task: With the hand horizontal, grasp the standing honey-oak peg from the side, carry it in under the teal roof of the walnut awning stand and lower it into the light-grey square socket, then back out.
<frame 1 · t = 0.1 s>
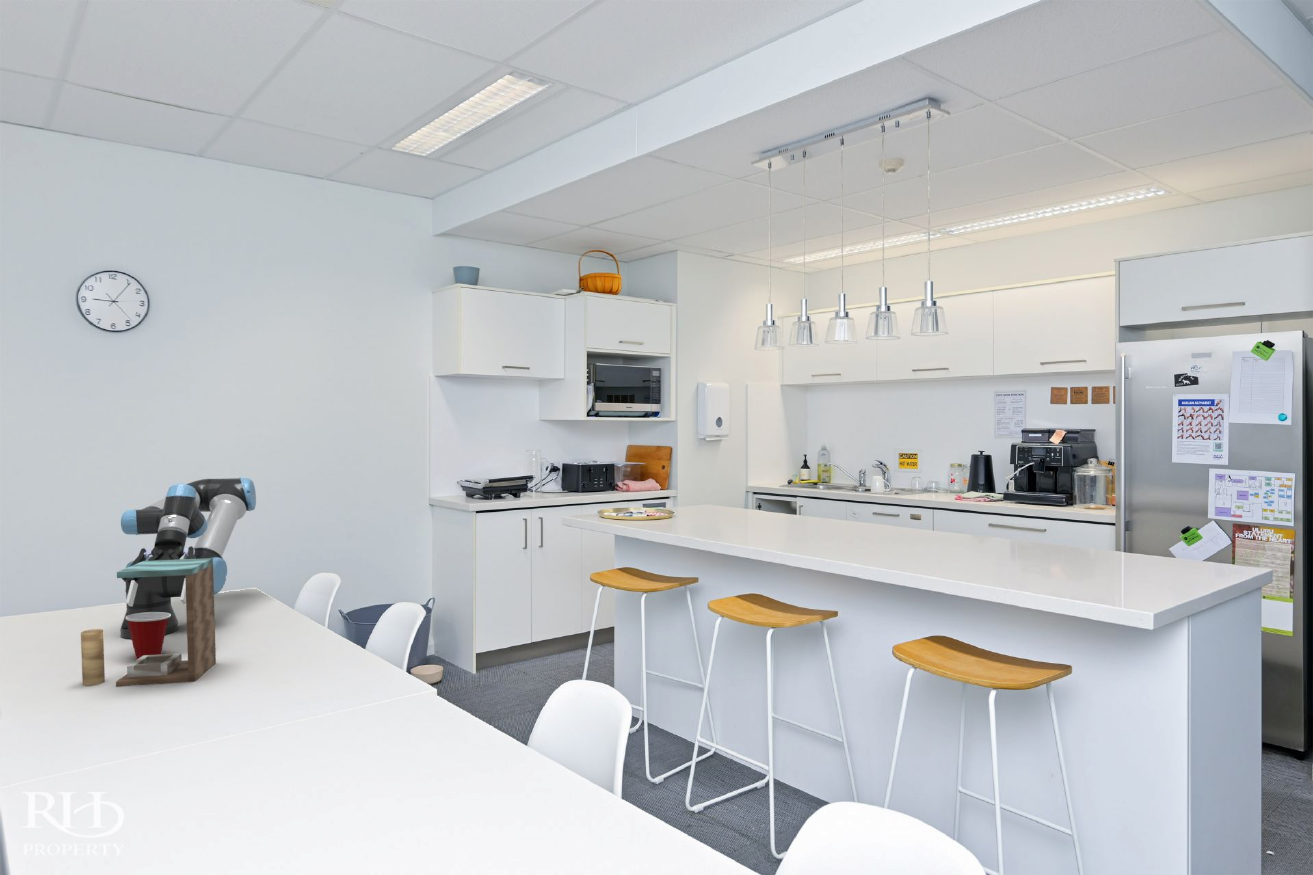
hand: (156, 603, 223), 15 cm above the table, tool tilted 35°, fingers open, 13 cm apart
plastic cup: (149, 657, 224), on the table
peg: (93, 682, 203), on the table
awning stand: (168, 674, 209), on the table
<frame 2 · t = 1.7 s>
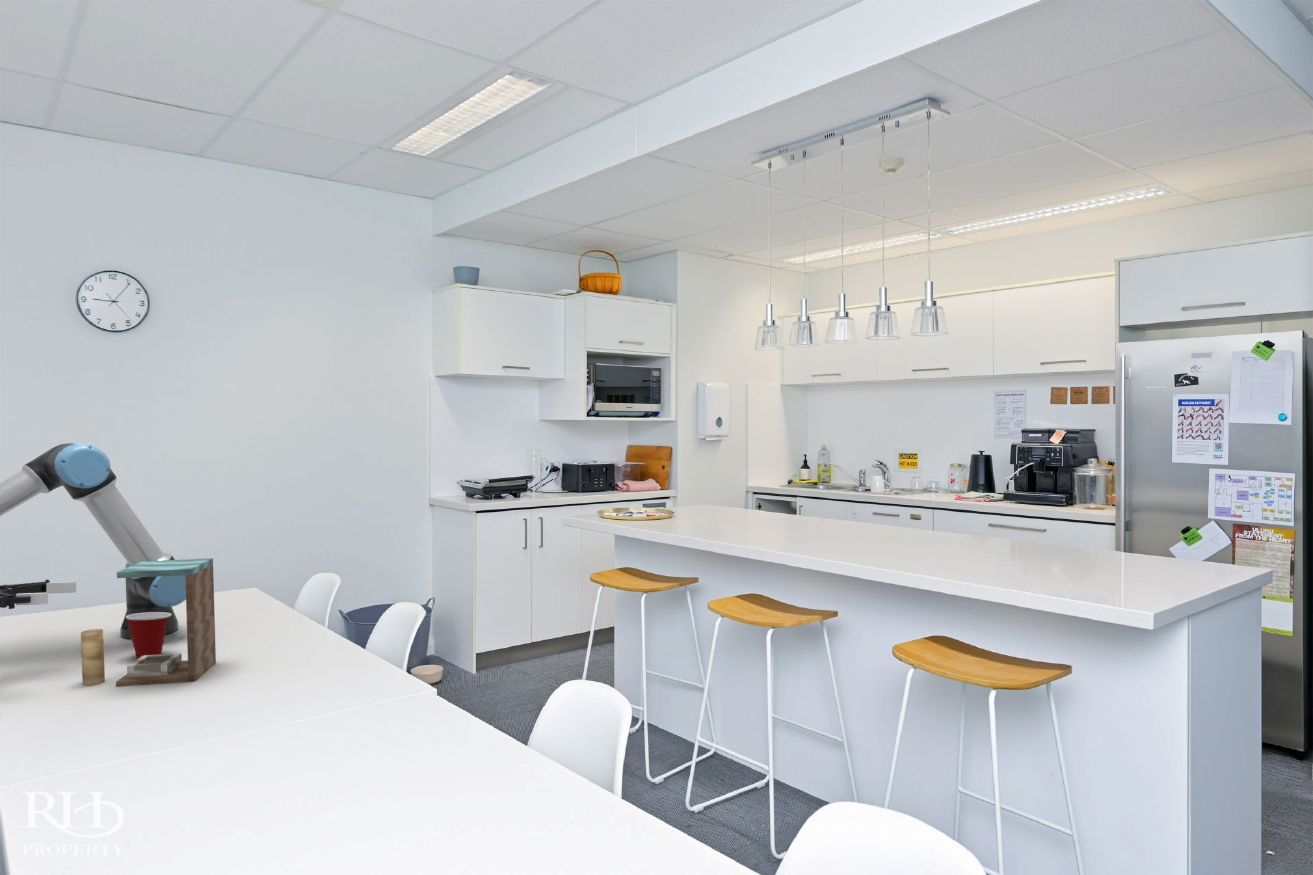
hand: (61, 592, 204), 23 cm above the table, tool horizontal, fingers open, 13 cm apart
nothing on the table moved.
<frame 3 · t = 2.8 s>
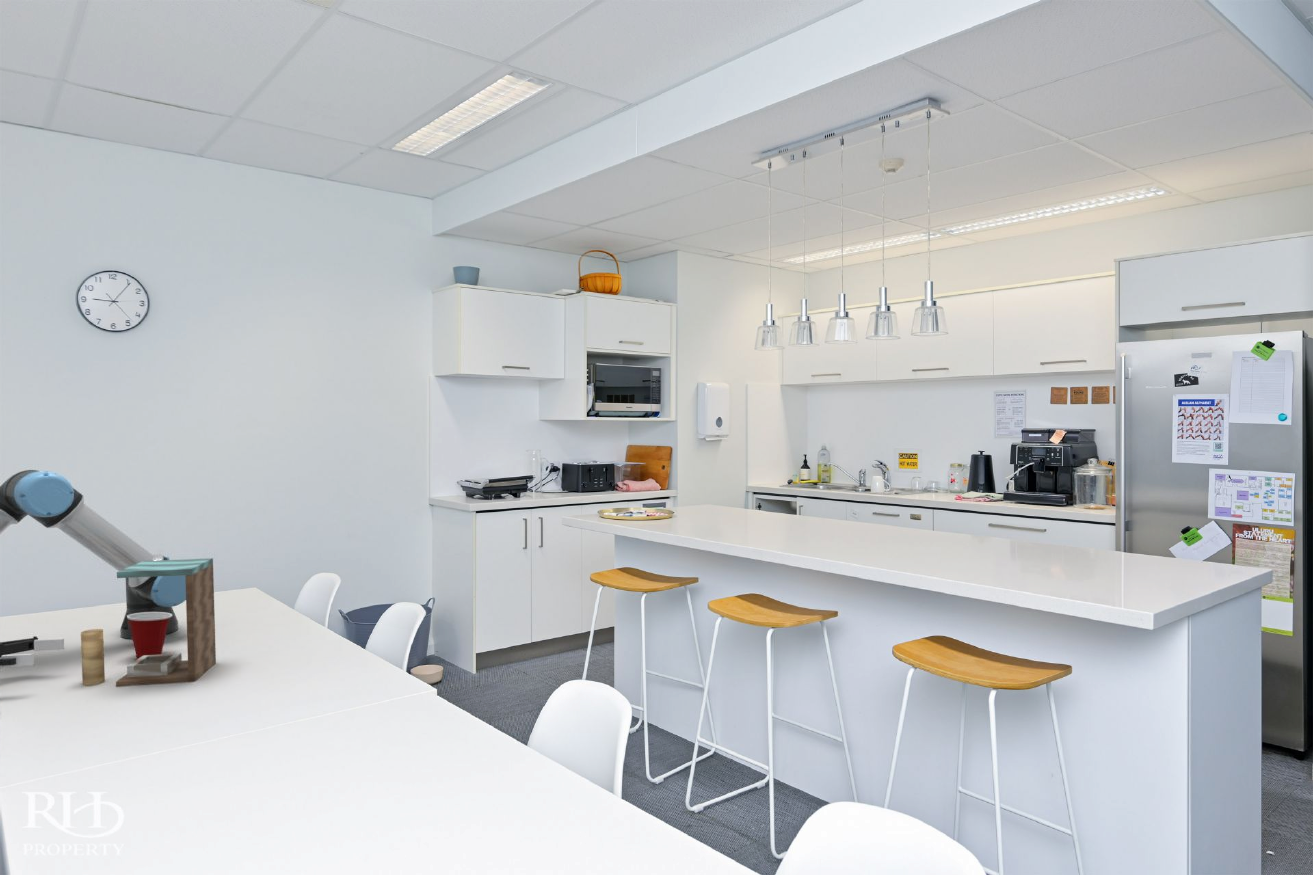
hand: (48, 651, 201), 8 cm above the table, tool horizontal, fingers open, 13 cm apart
nothing on the table moved.
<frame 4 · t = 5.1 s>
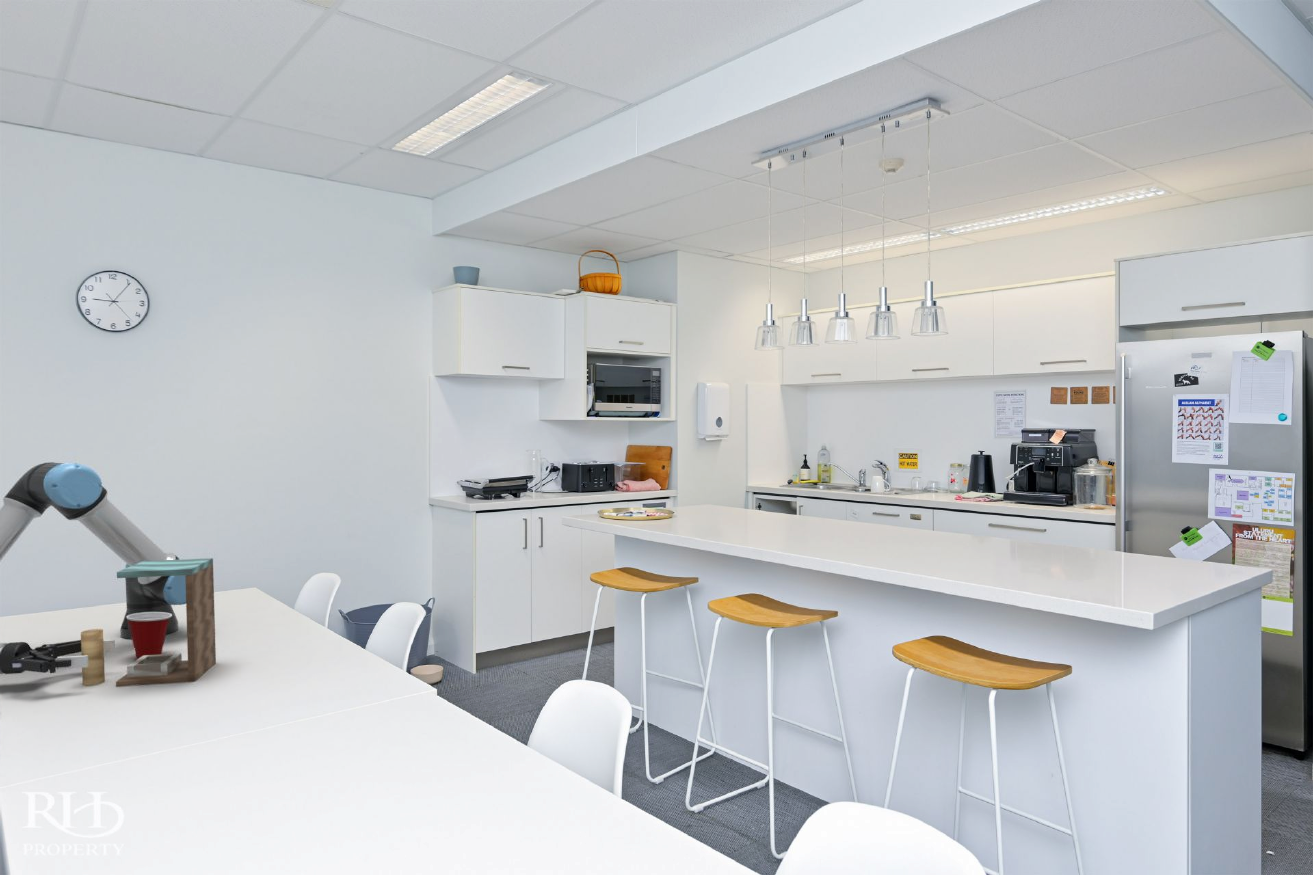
hand: (101, 652, 203), 7 cm above the table, tool horizontal, fingers open, 13 cm apart
nothing on the table moved.
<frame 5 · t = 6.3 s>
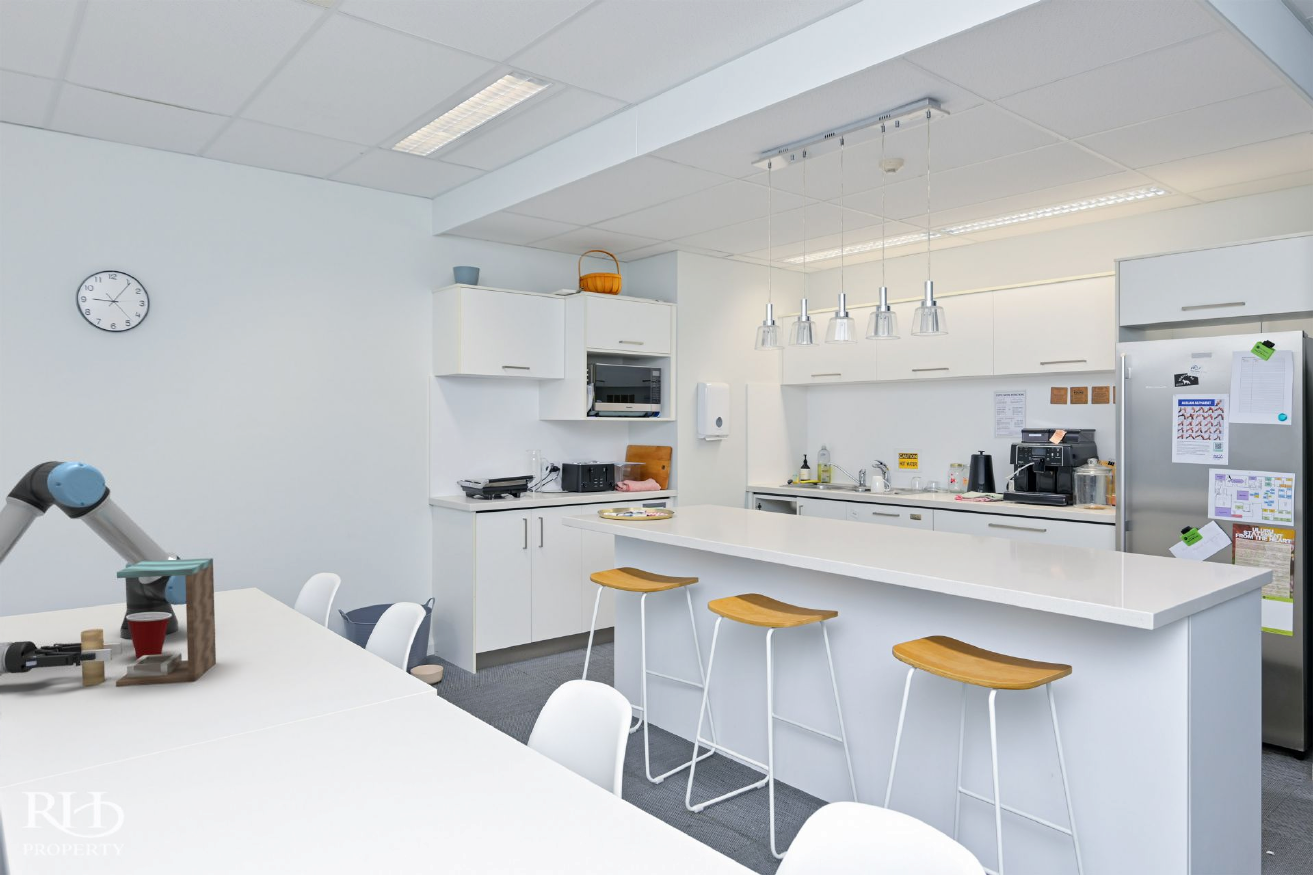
hand: (116, 651, 204), 8 cm above the table, tool horizontal, fingers closed on peg, 4 cm apart
peg: (93, 682, 203), on the table, touching gripper
everything else where it was.
when the fingers open (10 cm above the table, at t = 11.8 s): peg drops 1 cm, resting on awning stand.
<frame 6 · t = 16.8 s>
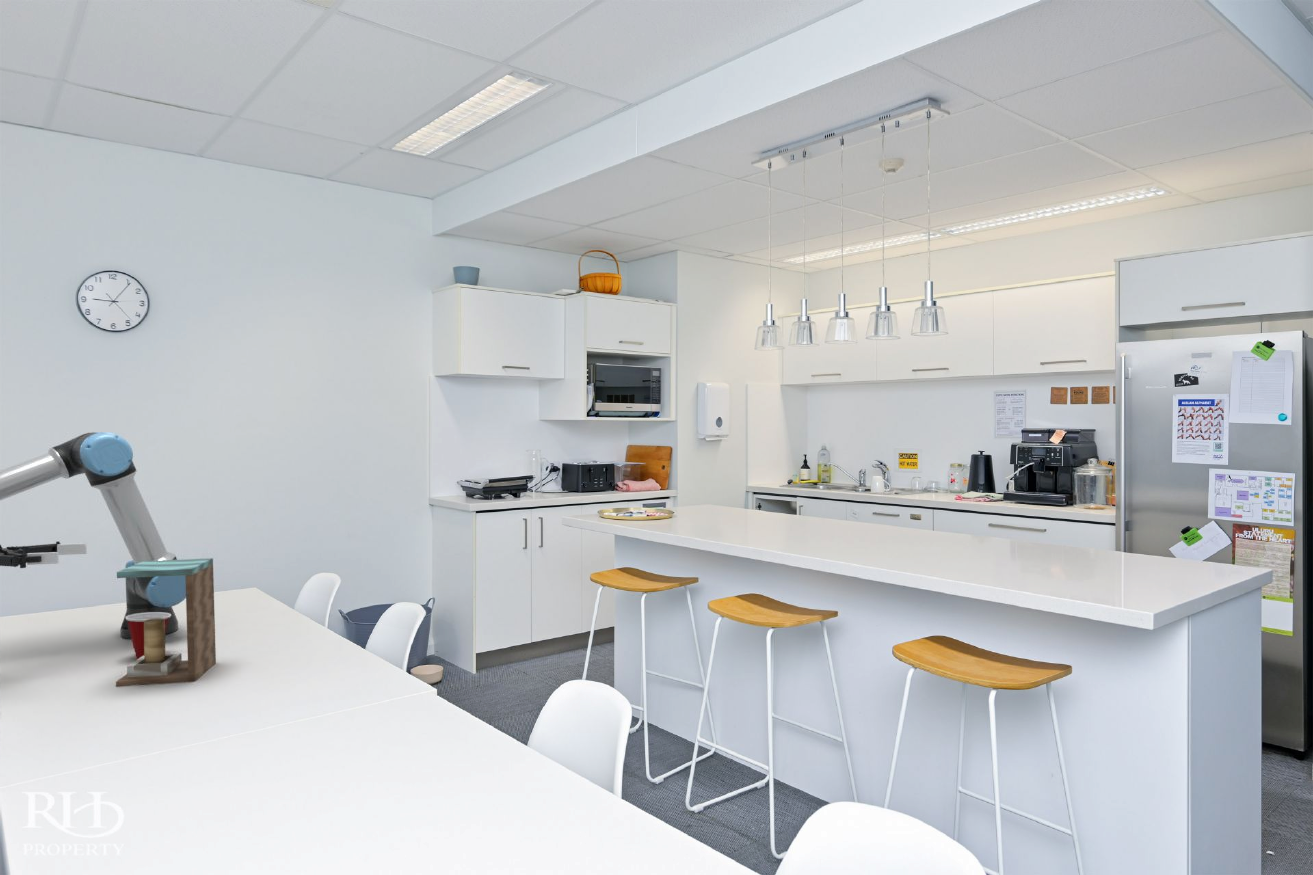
hand: (72, 553, 207), 32 cm above the table, tool horizontal, fingers open, 13 cm apart
peg: (155, 670, 209), point 1 cm above the table, touching awning stand
everything else where it was.
at the end: peg 0.0 cm from the target spot on the awning stand, point 1.2 cm above the awning stand's base; peg tilted 1°; the gripper is holding nothing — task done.
